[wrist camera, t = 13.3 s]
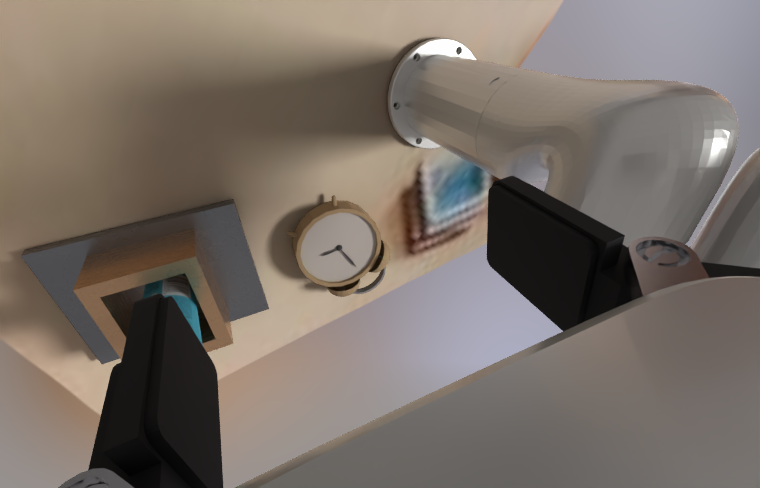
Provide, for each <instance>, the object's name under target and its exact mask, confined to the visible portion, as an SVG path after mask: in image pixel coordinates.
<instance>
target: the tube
mask: <svg viewBox="0 0 760 488" xmlns="http://www.w3.org/2000/svg"><path fill="white" fill-rule="evenodd" d="M156 294H162V295H163V296H164V297H168V296H172V297H173V298H174V300H175V301H176V303H177V304H178V306H179V308H180V309H181V311H182V313H183V314H184V316H185V318H186V319H187V321H188V322H189V324H190V326H191V327H192V329H193V331H194V332H195V334H196V336H197V337H198V339H199V341H200V342H201V344H202V337H201V331H200V324H199V317H198V310H197V303H196V296H195V293H194V291H193V289H192V287H191V285H190V283H189V280H188V278H187V276H186V274H185V273H183V274H180V275H176V276H173V277H169V278H166V279H163V280H159V281H156V282H152V283H149V284H145V288H144V293H143V298H142V299H144V298H147V297H150V296H153V295H156ZM202 345H203V344H202Z"/></svg>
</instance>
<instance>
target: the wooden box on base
mask: <svg viewBox="0 0 760 488" xmlns="http://www.w3.org/2000/svg"><path fill="white" fill-rule="evenodd" d="M22 258H23V259H24V260H25V262H26V263H27V264H28V266H29V267H30V269H31V270H32V271H33V273H34V274H35V275H36V277H37V278H38V279H39V281H40V282H41V283H42V285H43V286H44V287H45V289H46V290H47V291H48V293H49V294H50V295H51V297H52V298H53V299H54V301H55V302H56V303H57V305H58V306H59V307H60V309H61V310H62V311H63V313H64V314H65V315H66V317H67V318H68V320H69V321H70V322H71V324H72V325H73V326H74V328H75V329H76V330H77V332H78V333H79V334H80V336H81V337H82V338H83V340H84V341H85V342H86V344H87V345H88V346H89V348H90V349H91V350H92V352H93V353H94V354H95V356H96V357H97V358H98V360H99V361H100V362H101V364H104V363H107V362H110V361H113V360H116V359H119V358H120V359H121V360H122V357H123V352H124V347H125V343H126V338H127V333H128V329H129V324H130V319H131V315H132V310H133V305H134V303H135V302H136V301H138V300H141V299H142V298H143V293H144V288H145V284H149V283H152V282H156V281H159V280H163V279H166V278H169V277H173V276H176V275H180V274H183V273H185V274H186V276H187V278H188V280H189V283H190V285H191V287H192V289H193V291H194V293H195V296H196V303H197V310H198V317H199V324H200V331H201V337H202V344H203V347H204V349H205V350H206V352H210V351H213V350H215V349H218V348H221V347H224V346H227V345H230V344H233V338H232V331H231V324H230V322H231V321H234V320H237V319H240V318H243V317H246V316H249V315H252V314H255V313H258V312H261V311H264V310H267V309H269V307H268V304H267V301H266V297H265V294H264V291H263V288H262V285H261V282H260V279H259V276H258V273H257V270H256V267H255V264H254V261H253V258H252V255H251V252H250V249H249V246H248V243H247V240H246V237H245V234H244V231H243V228H242V225H241V222H240V219H239V216H238V213H237V210H236V207H235V204H234V201H233V199H232V200H228V201H224V202H220V203H216V204H211V205H207V206H203V207H199V208H195V209H191V210H187V211H183V212H179V213H174V214H170V215H166V216H162V217H158V218H154V219H150V220H146V221H142V222H137V223H133V224H129V225H125V226H121V227H117V228H113V229H109V230H105V231H101V232H96V233H92V234H88V235H84V236H80V237H76V238H72V239H68V240H64V241H59V242H55V243H51V244H47V245H43V246H39V247H35V248H31V249H27V250H25V251H24V253H23V254H22Z"/></svg>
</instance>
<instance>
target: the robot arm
mask: <svg viewBox="0 0 760 488" xmlns="http://www.w3.org/2000/svg"><path fill="white" fill-rule="evenodd" d="M414 55H415V58H414V59H413V57H414ZM387 98H388V112H389V117H390V120H391V122H392V125H393V127H394V129H395V130H396V132H397V133H398V134H399V135H400V136H401V137H402V138H403V139H404V140H405V141H407V142H408V143H410V144H411V145H413V146H415V147H418V148H424V149H434V148H438V147H443V148H445V149H447V150H449V151H450V152H452V153H454V154H456V155H458V156H459V157H461V158H463V159H465V160H467V161H468V162H470V163H472V164H474V165H476V166H477V167H479V168H481V169H483V170H484V171H486V172H488V173H490V174H492V175H494V176H496V177H497V178H499V179H500V180H497V181H495V182H494V183H493V185H492V187H491V188H490V189H489V195H488V232H487V260H488V263H489V265H490V266H491V267H492V268H493V269H494V270H495V271H496V272H497V273H499V274H500V275H501V276H502V277H503V278H504V279H505V280H506V281H507V282H509V283H510V284H511V285H512V286H513V287H514V288H515V289H516V290H518V291H519V292H520V293H521V294H522V295H523V296H524V297H526V298H527V299H528V300H529V301H530V302H531V303H532V304H533V305H534V306H536V307H537V308H538V309H539V310H540V311H541V312H543V314H545V315H546V316H547V317H548V318H549V319H550V320H551V321H552V322H554V323H555V324H556V325H557V326H558V327H559V328H560V329H561V330H563V332H561V333H559V334H557V335H555V336H553V337H550V338H548V339H546V340H544V341H542V342H540V343H538V344H535V345H533V346H531V347H529V348H527V349H525V350H522V351H520V352H518V353H516V354H514V355H512V356H509V357H507V358H505V359H503V360H501V361H499V362H497V363H494V364H492V365H490V366H488V367H486V368H484V369H482V370H480V371H477V372H475V373H473V374H471V375H469V376H467V377H464V378H462V379H460V380H458V381H456V382H454V383H452V384H450V385H448V386H445V387H443V388H441V389H439V390H437V391H435V392H432V393H430V394H428V395H426V396H424V397H422V398H420V399H418V400H415V401H413V402H411V403H409V404H407V405H405V406H403V407H401V408H399V409H397V410H394V411H393V412H390V413H388V414H386V415H384V416H382V417H380V418H377V419H375V420H373V421H371V422H370V423H367V424H365V425H363V426H361V427H359V428H356V429H354V430H352V431H350V432H348V433H346V434H344V435H342V436H340V437H337V438H335V439H333V440H331V441H329V442H327V443H325V444H323V445H321V446H318V447H317V448H314V449H312V450H310V451H308V452H306V453H304V454H302V455H300V456H298V457H296V458H294V459H292V460H290V461H288V462H286V463H284V464H282V465H280V466H278V467H276V468H274V469H272V470H270V471H268V472H266V473H264V474H262V475H259V476H258V477H256V478H254V479H251V480H249V481H247V482H245V483H243V484H241V485H239V486H238V487H236V488H760V148H758V149H757V150H756V151H754V152H753V153H752V155H751V156H749V158H748V159H747V160H746V161H745V162H744V163H743V164H742V165H741V167H740V168H739V170H738V171H737V172H736V173H735V175H734V176H733V177H732V179H731V180H730V182H729V183H728V185H727V187H726V188H725V189H724V191H723V193H722V194H721V196H720V198H719V199H718V201H717V203H716V204H715V206H714V207H713V209H712V211H711V212H710V214H709V216H708V218H707V219H706V221H705V223H704V225H703V226H702V228H701V230H700V231H699V233H698V235H697V236H696V238H695V240H694V241H693V243H692V245H691V246H690V247H688V246H687V245H685V244H686V243H687V242H688V241H689V239H690V237H691V235H692V234H693V232H694V230H695V228H696V227H697V224H698V223H699V221H700V220H701V218H702V216H703V215H704V213H705V211H706V210H707V208H708V206H709V204H710V203H711V201H712V199H713V198H714V196H715V194H716V192H717V191H718V189H719V187H720V185H721V184H722V181H723V179H724V177H725V175H726V173H727V171H728V169H729V167H730V164H731V161H732V158H733V156H734V153H735V150H736V147H737V142H738V135H739V122H738V117H737V114H736V112H735V110H734V108H733V106H732V105H731V103H730V102H729V101H728V100H727V99H726V98H725V97H724V96H722V95H721V94H719V93H718V92H716V91H714V90H711V89H709V88H706V87H704V86H700V85H695V84H690V83H685V82H678V81H664V80H596V79H582V78H574V77H567V76H560V75H554V74H549V73H543V72H538V71H532V70H527V69H522V68H517V67H512V66H506V65H501V64H496V63H491V62H485V61H480V60H476V59H475V57H474V56H473V54H472V53H471V51H470V50H469V49H468V48H467V47H466V46H464V45H463V44H461V43H459V42H458V41H455V40H451V39H447V38H435V39H429V40H426V41H424V42H421V43H419V44H418V45H416V46H415V47H413V48H412V49H411V50H410V51H409V52H408V53H407V54H406V55H405V56H404V57H403V58H402V60H401V61H400V62H399V64H398V65H397V67H396V69H395V71H394V73H393V75H392V78H391V82H390V85H389V90H388V97H387ZM394 103H395V106H394ZM416 139H417V140H416ZM545 180H548V181H547V184H546V187H545V191H544V192H543V191H541V190H539V189H538V188H536V187H534V186H532V185H530V183H536V182H541V181H545ZM59 488H223V475H222V456H221V439H220V420H219V401H218V382H217V372H216V369H215V366H214V364H213V362H212V360H211V359H210V357H209V355H208V354H207V352H206V350H205V349H204V347H203V345H202V344H201V342H200V341H199V339H198V337H197V336H196V334H195V332H194V331H193V329H192V327H191V326H190V324H189V322H188V321H187V319H186V318H185V316H184V314H183V313H182V311H181V309H180V308H179V306H178V304H177V303H176V301H175V300H174V298H173V297H172V296H168V297H164V296H163V295H162V294H156V295H153V296H150V297H147V298H144V299H141V300H138V301H136V302H135V303H134V305H133V310H132V315H131V319H130V324H129V329H128V333H127V338H126V343H125V347H124V352H123V357H122V361H121V363H119V364H116V365H115V366H114V367H113V369H112V372H111V375H110V380H109V384H108V388H107V392H106V397H105V401H104V405H103V410H102V414H101V418H100V422H99V427H98V431H97V435H96V439H95V444H94V448H93V452H92V456H91V461H90V465H89V469H88V471H85V472H82V473H80V474H78V475H76V476H75V477H73V478H71V479H69V480H68V481H66V482H65V483H63V484H62V485H61V486H60V487H59Z"/></svg>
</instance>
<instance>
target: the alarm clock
mask: <svg viewBox="0 0 760 488" xmlns="http://www.w3.org/2000/svg"><path fill="white" fill-rule="evenodd" d="M287 235H289V236H291V237H293V242H292V246H293V250H294V254H295V257H296V259H297V262H298V265H299V268H300V269H301V271H302V272H303V273H304V275H305V276H306V277H307V278H308V279H310V280H311V281H313V282H314V283H316V284H319V285H323V286H327V289H328V290H329V291H330V293H332V294H333V295H335V296H340V297H344V296H348V295H351V294H352V293H353V294H363V293H366V292H368V291H370V290H372V289H374V288H375V287H376V286H377V285H378V284H379V283H380V282H381V281H382V279H383V277H384V274H385V268H386V265H387V264H388V261H389V258H390V250H389V247H388V245H387V244H386V243H385V242H384V241H382V240H381V237H380V232H379V230H378V228H377V226H376V224H375V222H374V221H373V220H372V219H371V218H370V217H369V216H368V214H367V213H366V212H365V211H364V210H363V209H362V208H360V207H359V206H358V205H356V204H353V203H351V202H348V201H337V200H336V197H335V196H332V201H330V202H326V203H322V204H320V205H318V206H316V207H315V208H313V209H311V210H310V211H308V212H307V213H306V215H305V216H304V217H303V218H302V219H301V220H300V221H299V223H298V225H297V227H296V229H295V231H294V232H287ZM368 271H369V272H379V271H381V272H380V274H379V276H378V277H377V279H376V280H375V281H374V282H373V283H371V284H370V285H368V286H366V287H364V288H361V289H358V287H359V284H360V278H361V277H363V276H364V275H365V274H366V273H367V272H368Z"/></svg>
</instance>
